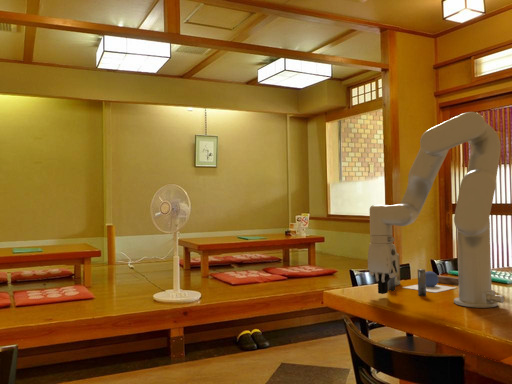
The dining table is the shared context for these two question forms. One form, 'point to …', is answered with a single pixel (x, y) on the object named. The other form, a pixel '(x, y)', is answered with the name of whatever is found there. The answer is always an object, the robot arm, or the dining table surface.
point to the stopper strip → (448, 280)
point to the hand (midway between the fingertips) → (382, 293)
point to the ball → (431, 279)
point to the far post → (391, 284)
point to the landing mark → (432, 288)
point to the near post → (421, 282)
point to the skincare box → (397, 278)
